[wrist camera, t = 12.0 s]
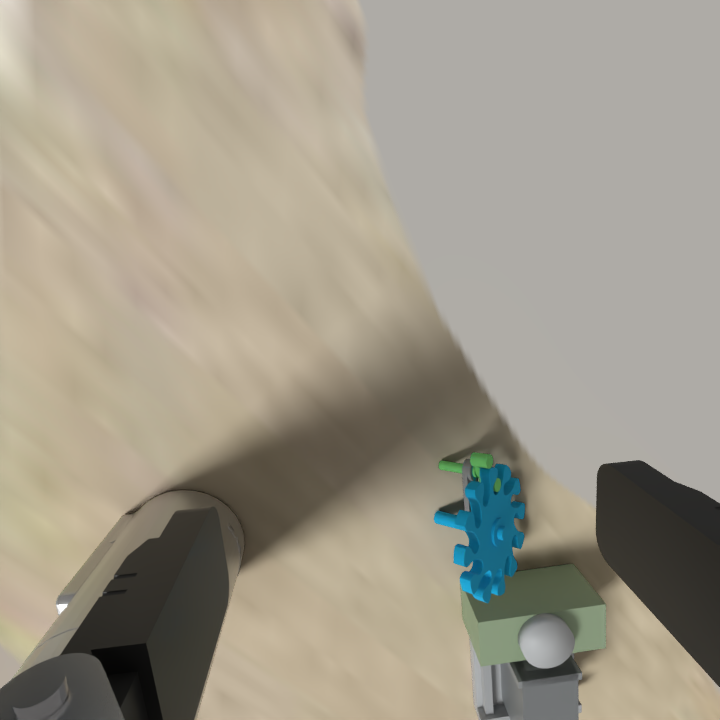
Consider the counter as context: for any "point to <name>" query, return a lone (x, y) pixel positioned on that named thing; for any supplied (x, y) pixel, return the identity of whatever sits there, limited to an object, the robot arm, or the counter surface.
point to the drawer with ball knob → (530, 628)
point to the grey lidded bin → (540, 690)
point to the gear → (485, 524)
